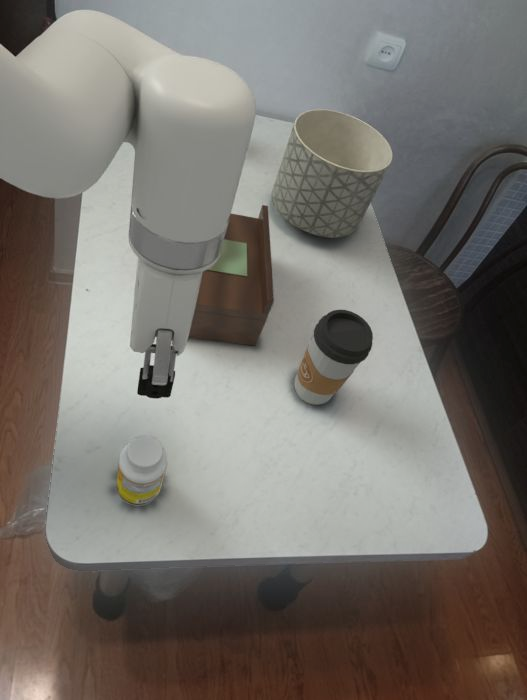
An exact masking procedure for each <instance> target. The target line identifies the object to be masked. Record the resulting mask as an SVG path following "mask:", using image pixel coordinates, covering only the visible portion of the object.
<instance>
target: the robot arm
mask: <svg viewBox="0 0 527 700" xmlns="http://www.w3.org/2000/svg"><path fill="white" fill-rule="evenodd" d="M256 117H257V104H256V98H255V95H254V93H253V90H252V88H251V87H250V85H249V84H248V82H247V81H246V80H245V79H244V78H243V77H242V76H241V75H240V74H239V73H237V72H236V71H235V70H233V69H231V68H230V67H228V66H226V65H224V64H222V63H220V62H217V61H215V60H211V59H208V58H204V57H200V56H194V55H183V54H182V53H179V52H177V51H175V50H173V49H171V47H168V46H166V45H164V44H162V43H161V42H159V41H158V40H155V39H154V38H152V37H150V36H148V35H147V34H145V33H144V32H142V31H140V30H139V29H137V28H135V27H134V26H132V25H130V24H128V23H126V22H124V21H122V20H120V19H119V18H117V17H114V16H112V15H110V14H107V13H105V12H102V11H98V10H93V9H77V10H76V9H75V10H73V11H70V12H67V13H65V14H64V15H62V16H60V17H59V18H58V19H56V20H55V21H54V22H53V23H52V24H51V25H50V26H48V27H47V28H46V30H44V31H43V32H42V33H41V34H40V35H38V36H37V37H36V38H34V40H32V41H31V42H30V43H29V44H28V45H27V46H25V48H23V49H22V50H21V51H20V52H19V53H18V54H16V56H15V55H14V54H13V53H12V52H11V51H9V50H8V49H7V48H6V47H5V46H3V44H1V43H0V179H1V180H3V181H5V182H6V183H8V184H10V185H12V186H14V187H16V188H18V189H20V190H22V191H24V192H27V193H29V194H32V195H36V196H39V197H41V198H42V197H43V198H48V199H49V198H50V199H67V198H73V197H76V196H79V195H81V194H82V193H84V192H87V191H88V190H89V189H90V188H92V187H93V186H94V185H96V184H97V183H98V182H99V180H100V179H101V178H102V176H103V175H104V174H105V173H106V170H107V169H108V168H109V166H110V165H111V163H112V162H113V160H114V159H115V157H116V155H117V153H118V152H119V150H120V149H121V147H122V146H123V144H124V143H128V144H130V145H131V146H132V147H133V150H134V160H133V161H134V162H133V173H132V174H133V175H132V187H131V200H130V213H129V215H130V216H129V225H128V227H129V228H128V243H129V246H130V248H131V251H132V252H133V253H134V255H135V256H136V257H137V258H138V259H137V265H136V275H135V284H134V295H133V304H132V305H133V306H132V316H131V328H130V338H129V347H130V349H131V350H132V352H134V353H139V354H144V359H143V367H140V369H139V374H138V375H139V376H138V383H137V391H136V393H137V395H139V396H141V397H142V396H144V397H147V398H149V399H161V398H165V399H166V398H170V397H171V395H172V391H173V385H174V382H175V378H176V370H175V367H176V359H177V358H176V357H179V356H180V355H182V354H183V353H184V352H185V349H186V346H187V343H188V339H189V337H188V336H189V332H190V328H191V324H192V319H193V315H194V311H195V306H196V302H197V297H198V293H199V288H200V283H201V278H202V273H203V271H205V270H207V269H209V268H210V267H212V266H213V265H214V264H215V263H216V262H217V260H218V259H219V257H220V254H221V250H222V246H223V242H224V238H225V234H226V230H227V226H228V223H229V219H230V215H231V214H232V211H233V207H234V203H235V198H236V196H237V191H238V187H239V184H240V180H241V176H242V172H243V168H244V164H245V161H246V157H247V154H248V149H249V145H250V141H251V138H252V134H253V131H254V126H255V120H256ZM155 342H156V343H155ZM152 354H154V359H153V360H154V362H153V365H152V364H151V357H152Z"/></svg>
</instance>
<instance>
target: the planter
mask: <svg viewBox="0 0 527 700" xmlns="http://www.w3.org/2000/svg"><path fill="white" fill-rule="evenodd" d="M393 154H394V153H393V150H392V147H391V145H390V143H389V142H388V140H387V139H386V138H385V136H384V135H383V134H382V133H380V132H379V131H378V130H377V129H376V128H375V127H373V126H372V125H370V124H368V123H367V122H365V121H364V120H361V119H359V118H357V117H356V116H353V115H351V114H347V113H345V112H341V111H337V110H333V109H325V108H323V109H322V108H320V109H319V108H317V109H316V108H315V109H309V110H306V111H304V112H301V113H300V114H299V115H298V116H297V117H296V118H295V120H294V123H293V126H292V128H291V132H290V134H289V138H288V141H287V144H286V147H285V150H284V152H283V156H282V158H281V159H282V160H281V162H280V165H279V167H278V172H277V174H276V177H275V180H274V184H273V187H272V190H271V200H272V203H273V205H274V207H275V209H276V211H277V212H278V213H279V215H281V217H282V218H283V219H284V220H286V221H287V222H288V223H290V224H291V225H292V226H294V227H295V228H297V229H298V230H301V231H303V232H305V233H308V234H310V235H314V236H317V237H322V238H330V239H331V238H334V239H335V238H343V237H346V236H349V235H351V234H353V233H354V232H355V231H356V230H357V229H358V228H359V227H360V224H361V223H362V221H363V219H364V217H365V214H366V213H367V211H368V209H369V207H370V205H371V203H372V201H373V198H375V195H376V193H377V191H378V189H379V187H380V185H381V184H382V181H383V180H384V177H385V175H386V173H387V172H388V170H389V168H390V166H391V164H392V162H393V157H394V156H393Z"/></svg>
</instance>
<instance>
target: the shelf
mask: <svg viewBox="0 0 527 700" xmlns="http://www.w3.org/2000/svg"><path fill="white" fill-rule="evenodd" d="M271 249H272V248H271V231H270V217H269V206H268V205H266V204H262V205H261V207H260V211H259V214H258V218H257V217H252V216H246V215H241V214H238V213H237V214H236V213H231V215H230V219H229V223H228V226H227V230H226V234H225V238H224V242H223V246H222V250H221V254H220V257H219V259H218V260H217V262H216V263H215V264H214V265H213V266H212V267H210V268H209V269H207V270H205V271H203V273H202V278H201V283H200V288H199V293H198V297H197V302H196V306H195V311H194V315H193V319H192V324H191V328H190V332H189V336H188V338H190V339H191V338H192V339H199V340H207V341H214V342H222V343H230V344H235V345H236V344H237V345H245V346H251V347H256V346H257V344H258V342H259V339H260V337H261V334H262V332H263V329H264V327H265V324H266V322H267V320H268V317H269V315H270V312H271V309H272V307H273V305H274V302H275V298H274V296H275V295H274V282H273V281H274V279H273V264H272V250H271Z"/></svg>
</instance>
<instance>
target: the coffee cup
mask: <svg viewBox="0 0 527 700" xmlns="http://www.w3.org/2000/svg"><path fill="white" fill-rule="evenodd" d="M373 340H374V333H373V330H372V328H371V325H369V323H368V322H367V321H366V320H365V319H364V318H363V317H362V316H361V315H360V314H358V313H355V312H353V311H351V310H347V309H334V310H331V311H329V312H328V313H326V314H325V315H323V316H322V317H321V318H320V319H319V321H318V322H317V323H316V324H315V326H314V329H313V334H312V337H311V339H310V342H309V344H308V345H307V348H306V350H305V352H304V355H303V357H302V360H301V362H300V365H299V367H298V370H297V372H296V374H295V375H296V376H295V378H294V383H293V385H294V390H295V392H296V394H297V396H298V397H299V398H300V399H301V401H303V402H304V403H307V404H309V405H312V406H317V405H318V406H319V405H323V404H326V403H327V402H329V401H330V400H331V399H332V398H333V396H334V395H335V394H336V393H337V392H338V391H339V390H340V389H341V387H342V386H343V385H344V384H345V383H346V382H347V381H348V379H349V378H350V377H351V376H352V374H354V371H356V369H357V367H358V366H359V365H360V364H361V363H362V362H363V361H365V360H366V359H367V358H368V356H369V354H370V352H371V351H372V348H373Z"/></svg>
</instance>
